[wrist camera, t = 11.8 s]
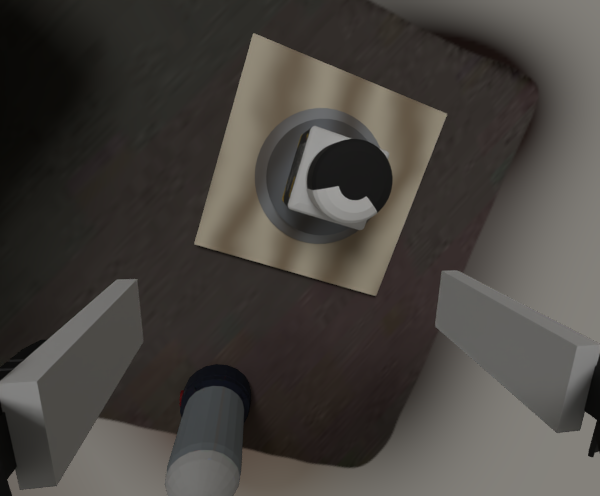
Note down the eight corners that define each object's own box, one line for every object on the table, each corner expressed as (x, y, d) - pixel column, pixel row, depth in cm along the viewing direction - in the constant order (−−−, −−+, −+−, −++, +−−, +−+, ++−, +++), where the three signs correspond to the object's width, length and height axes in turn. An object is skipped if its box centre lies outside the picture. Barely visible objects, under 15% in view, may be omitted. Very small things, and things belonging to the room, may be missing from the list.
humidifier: (169, 390, 41) (48, 699, 17) (223, 352, 41) (177, 610, 17) (211, 433, 44) (156, 762, 19) (263, 396, 43) (272, 684, 19)
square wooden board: (195, 242, 38) (191, 247, 35) (253, 37, 34) (253, 26, 32) (373, 293, 42) (380, 300, 39) (442, 115, 38) (454, 111, 36)
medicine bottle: (301, 133, 34) (324, 114, 23) (365, 155, 35) (418, 148, 24) (280, 201, 35) (292, 216, 24) (343, 220, 37) (384, 243, 25)
